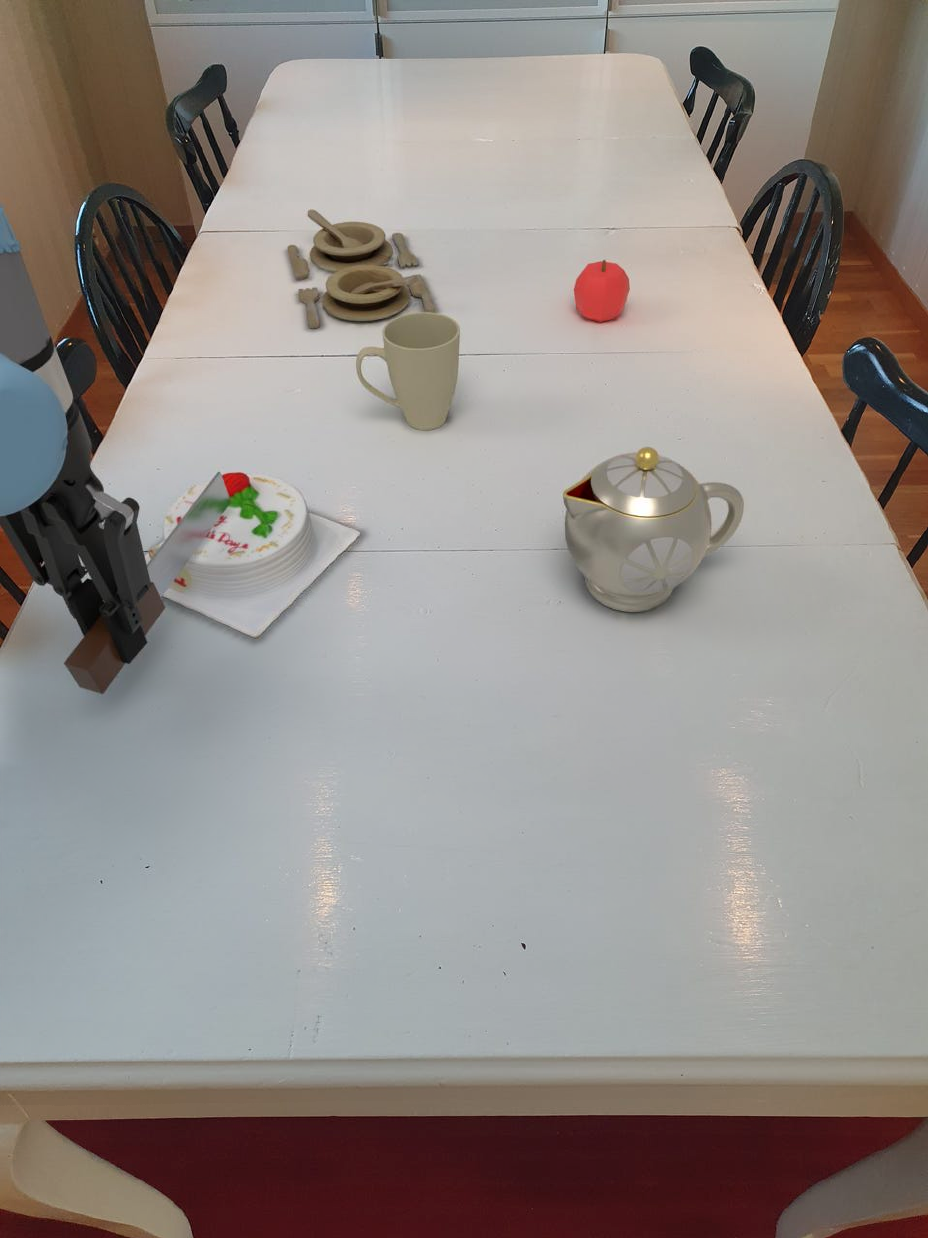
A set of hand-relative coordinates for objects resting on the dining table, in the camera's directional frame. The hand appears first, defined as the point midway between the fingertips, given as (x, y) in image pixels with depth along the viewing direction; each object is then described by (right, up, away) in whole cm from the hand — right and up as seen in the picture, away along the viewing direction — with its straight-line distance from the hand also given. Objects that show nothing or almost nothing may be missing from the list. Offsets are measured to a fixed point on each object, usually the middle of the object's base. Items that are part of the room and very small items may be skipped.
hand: (119, 647), depth 79 cm
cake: (+7, +9, +17) cm, 20 cm away
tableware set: (+14, +55, +63) cm, 85 cm away
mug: (+24, +27, +34) cm, 50 cm away
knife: (+3, +5, +5) cm, 8 cm away
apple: (+50, +47, +53) cm, 86 cm away
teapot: (+48, +6, +13) cm, 50 cm away
